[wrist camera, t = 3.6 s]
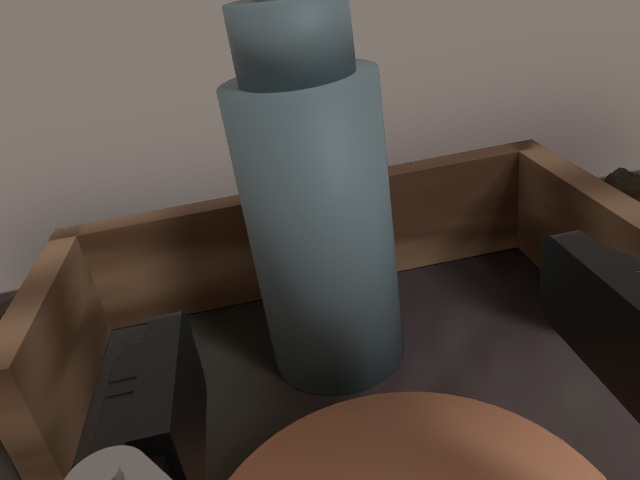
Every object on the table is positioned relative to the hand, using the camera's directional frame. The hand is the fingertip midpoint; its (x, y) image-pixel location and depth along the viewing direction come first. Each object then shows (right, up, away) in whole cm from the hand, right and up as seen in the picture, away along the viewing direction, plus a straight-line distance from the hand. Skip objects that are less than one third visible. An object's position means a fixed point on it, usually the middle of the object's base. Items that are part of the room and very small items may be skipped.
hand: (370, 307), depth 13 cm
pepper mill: (0, -3, +11) cm, 11 cm away
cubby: (0, -2, +12) cm, 12 cm away
